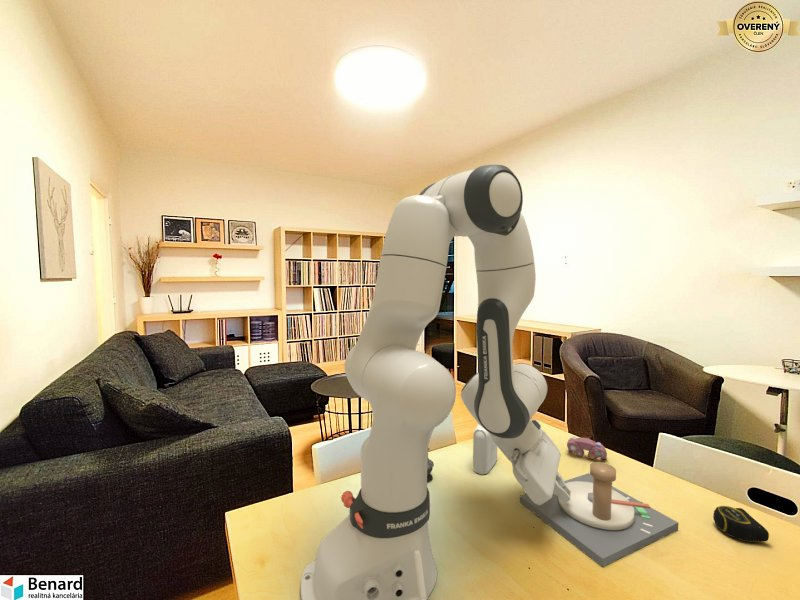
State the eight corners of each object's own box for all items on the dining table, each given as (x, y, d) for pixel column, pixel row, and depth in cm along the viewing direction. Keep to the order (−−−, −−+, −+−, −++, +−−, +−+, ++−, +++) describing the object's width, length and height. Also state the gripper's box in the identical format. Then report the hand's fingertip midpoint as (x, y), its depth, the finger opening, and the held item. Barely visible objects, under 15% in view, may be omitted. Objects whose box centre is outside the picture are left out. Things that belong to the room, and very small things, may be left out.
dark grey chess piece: (432, 485, 87) (432, 436, 87) (408, 482, 89) (408, 434, 88) (435, 472, 93) (435, 427, 92) (412, 470, 94) (412, 425, 94)
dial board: (602, 567, 62) (602, 557, 62) (519, 502, 81) (519, 494, 81) (678, 529, 72) (678, 521, 71) (588, 479, 90) (588, 472, 90)
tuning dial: (564, 524, 71) (566, 468, 70) (553, 484, 84) (554, 437, 84) (665, 539, 67) (667, 480, 66) (635, 494, 80) (637, 445, 80)
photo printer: (483, 455, 102) (484, 412, 101) (499, 459, 100) (499, 415, 99) (470, 472, 93) (471, 425, 92) (487, 477, 91) (487, 428, 90)
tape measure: (770, 548, 67) (771, 529, 66) (726, 542, 68) (727, 523, 68) (744, 524, 73) (746, 506, 73) (705, 519, 75) (706, 501, 75)
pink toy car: (566, 458, 103) (564, 441, 100) (569, 446, 106) (567, 429, 103) (606, 469, 97) (605, 451, 94) (607, 455, 101) (607, 437, 98)
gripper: (521, 453, 67) (578, 520, 63) (537, 416, 85) (582, 467, 81) (496, 470, 70) (550, 536, 66) (517, 431, 88) (560, 481, 84)
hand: (568, 497), depth 74 cm, fingers closed
